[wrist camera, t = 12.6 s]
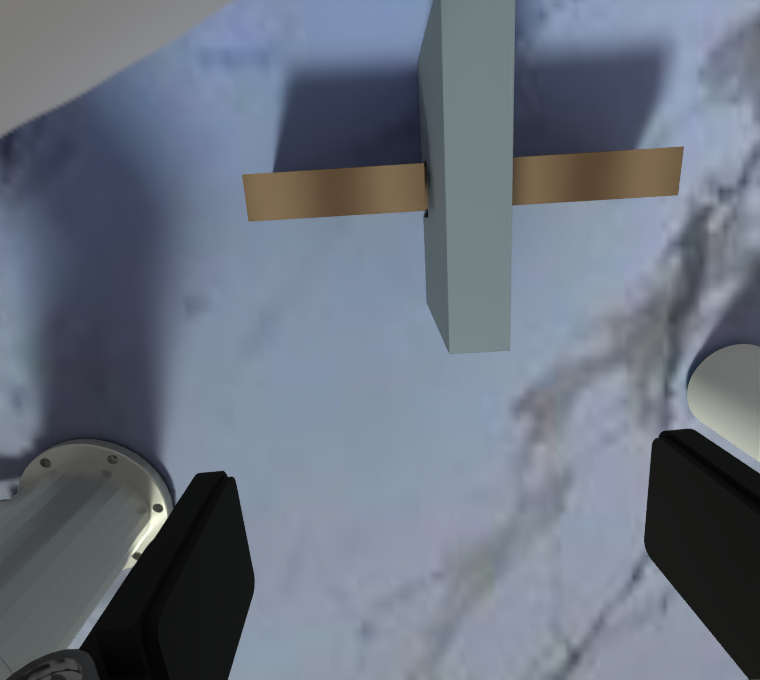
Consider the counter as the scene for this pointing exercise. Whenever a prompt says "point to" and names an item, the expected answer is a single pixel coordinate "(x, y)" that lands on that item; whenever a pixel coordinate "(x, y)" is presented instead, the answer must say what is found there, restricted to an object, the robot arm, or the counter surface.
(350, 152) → the counter surface
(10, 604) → the robot arm
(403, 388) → the counter surface
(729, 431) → the can
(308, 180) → the walnut slotted board
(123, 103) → the counter surface
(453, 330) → the plain grey board
